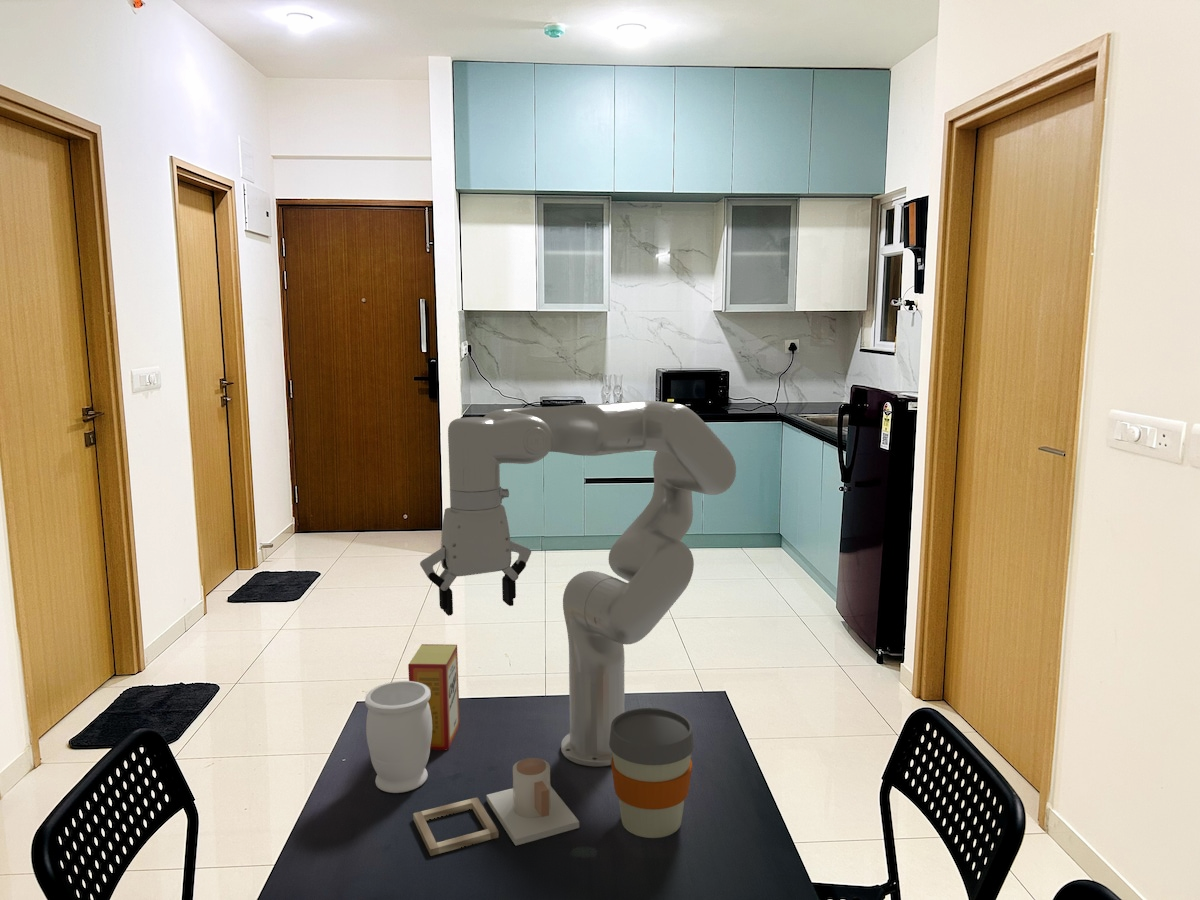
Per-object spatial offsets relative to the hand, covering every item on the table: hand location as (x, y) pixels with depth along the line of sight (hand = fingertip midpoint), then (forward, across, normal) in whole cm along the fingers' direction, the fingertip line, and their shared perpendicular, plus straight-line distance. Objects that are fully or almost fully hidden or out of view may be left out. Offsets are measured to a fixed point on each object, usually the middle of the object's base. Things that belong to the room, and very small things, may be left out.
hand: (478, 608), depth 133 cm
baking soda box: (+31, +2, -21) cm, 37 cm away
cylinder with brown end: (+29, -5, +11) cm, 32 cm away
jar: (+31, +11, -9) cm, 34 cm away
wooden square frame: (+30, +7, +8) cm, 32 cm away
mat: (+30, -4, +10) cm, 32 cm away
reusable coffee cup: (+31, -20, +19) cm, 41 cm away
